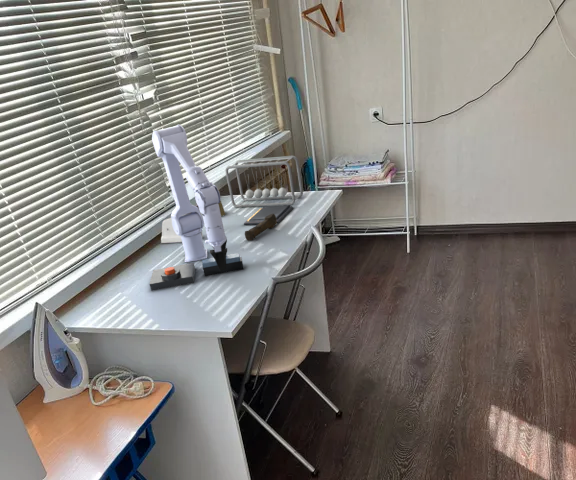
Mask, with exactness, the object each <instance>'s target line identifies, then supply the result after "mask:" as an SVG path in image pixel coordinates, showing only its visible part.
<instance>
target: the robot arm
mask: <svg viewBox="0 0 576 480" xmlns="http://www.w3.org/2000/svg"><path fill="white" fill-rule="evenodd" d="M151 141H152V145H153V148H154V151H155V154H156V156H157V157H158V158H161V160H162V163H163V165H164V169H165V172H166V175H167V179H168V183H169V186H170V189H171V193H172V196H173V199H174V203H175V208H174V209H173V210H172V212H171V213H170V218H172V226H173V229H174V231H175V233H176V234H177V235H179V236H181V240H182V242H181V243H182V247H183V250H184V255H185V257H184V263H192V262H197V261H202V260H204V259H208V252H209V254H210V256H212V258H214V259H215V261H216V263H217V265H218V268H219V270H220V271H221V270H226V255H227V253H228V248H227V243H228V239H227V236H226V232H225V228H224V224H223V223H224V222H223V218H222V216H221V213H220V209H219V204H218V203H220V200H221V192H220V193H219V191H220V190H219V189H218V187H217V185H215V184H214V183H213V182H212V181H211V182H210V181H209V178H208V177H207V175H206V174H205V172H204V169H202V167H201V166H198V165H196V163H195V160H194V159H193V156H192V154H191V152H190V150H189V148H188V136H187V132H186V129H185V128H184V127H183V126H182V125H181V124H177V125H174V126H170V127H165V128H162V129H158V130H153V131H152V135H151ZM181 166H182V168H183V169H184V171H185V179H186V180H187V182H188V184H189V186H190V188H191V189H192V192H193V193H194V199H195V203H196V205H194V204H192V203H191V201H190V197H189V194H188V193H189V192H188V191H187V187H186V183H185V180H184V176H183V173H182V169H181ZM218 190H219V191H218ZM221 201H222V200H221ZM203 228H205V233H206V236H207V239H205V240H204V239H203V237H202V235H201V231H202V232H203ZM204 244H205V245H209V246H211V248H213V249H210V250H209V251H208V249H207V248H205V245H204Z"/></svg>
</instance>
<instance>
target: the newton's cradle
mask: <svg viewBox="0 0 576 480" xmlns="http://www.w3.org/2000/svg"><path fill="white" fill-rule="evenodd" d="M292 159H293V160H295V165H296V173H297V179H298V186H299V195H295V187H294V181H293V174H292V169H291V165H290V163H289V161H290V160H292ZM281 160H283V161H281ZM284 160H285V161H284ZM257 162H258V163H257ZM283 165H285V166H286V167H287V174H288V178H289V179H288V180H289V185H290V191H291V195H287V194H288V191H287V189H286V188H285V187H283V186H282V183H283V180H282V177H280V175H279V171H278V170H276V172H277V176H278V180H279V181H278V182H279V185H280V188H279V189H278V188H277V187H274V186H275V181H274V180H273V179H272V178H271V176H269V178H270V182H271V185H272V188H271V189H269V188H267V183H266V181H262V182H263V187H264V189H263V190H262V189H260V188H258V187H259V184H258V182H257V181H256V179H255V178H253V180H254V183H255V188H256V189H255V190H254V191H253V190H252V189H250V187H249V183H248V182H250V179H249V177H250V176H249V175H247V176H244V179H247V177H248V179H247V180H248V181H247V180H245V181H246V184H247V189H246V191H245V195H244V192H243V186H242V181H241V175H240V171H239V169H242V170H243V171H245V169H246V168H247V169H249V168H250V169H251V173H252V175H253V177H258V175H257V172H255V175H256V176H255V175H254V173H253V171H254V170H253V168H257V167H258V168H259V172H260V175H261V176H263V175H264V177H266V174H265V171H263V173H264V174H263V175H262V171H261V167H270V166H271V167H272V166H275V168H276V169H278V167H277V166H279V167H280V172H282V167H281V166H283ZM244 168H245V169H244ZM229 169H230V170H231V169H235V172H236V173H235V174H236V178H237V183H238V188H239V193H240V197H241V199H242V202H240V203H239V204H236V203H235V198H234V193H233V189H232V183H231V179H230V175H229ZM267 170H268V171H270V170H269V168H267ZM273 170H274V169H271V172H272V173H271V172H268V174H269V175H271V174H272V175H274V173H273V172H274V171H273ZM224 171H225V176H226V181H227V185H228V191H229V196H230V201H231V204H232V206H233V207H234V208H239V209H240V208H255V207H256V208H258V207H266V206H282V205H290V206H292V205H294V204H295V203H296V201H297V199H301V198H302V197H303V195H304V190H303V183H302V175H301V169H300V161H299V158H298V157H297V156H295V155H286V156H285V155H284V156H283V155H282V156H273V157H272V156H271V157H260V158H249V159H247V158H246V159H238V160H236V161H235V162H234V163H233V164H232V165H228V166H226V168H225V170H224ZM245 173H246V172H243V174H244V175H246V174H245ZM270 173H271V174H270ZM261 178H262V180H264V178H263V177H261ZM291 199H292V201H289V202H288V201H286V202H269V203H267V202H265V203H246V204H243V203H245V202H253V201H254V202H255V201H270V200H291Z"/></svg>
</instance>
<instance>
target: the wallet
mask: <svg viewBox="0 0 576 480" xmlns="http://www.w3.org/2000/svg"><path fill="white" fill-rule="evenodd" d="M293 209H294V207H293V206H292V205H280V206H262V207H260V208H259V209H257V211H256V212H255V213H253V214H252V215H251V216H250V217H249V218H248V219H247V220H246V221H245V222H244V223H243V225H244V226H256V225H258V224H260V223H261V222H263V221H264V220H265V217H266V216H268V215H270V214H275V216H276V220H277V223H276V225H277V224H279V223H280V222H282V220H283V219H284V218H285V217H286V216H287V215H288V214H289V213H290V212H291V211H292V210H293Z"/></svg>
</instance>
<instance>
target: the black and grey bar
mask: <svg viewBox="0 0 576 480" xmlns="http://www.w3.org/2000/svg"><path fill="white" fill-rule="evenodd" d="M240 255H241V254H240V252H237V253H231V254H226V270H221V271H220V270H219V268H218V265H217V263H216V261H215V259H214V258H213V257H209V258H207V259H202V260H201V262H202V263H201V265H202V271H203V275H204V277H210V276H215V275H220V274H226V273H227V274H228V273H231V272H238V271H242V270H245V269H244V268H245V267H244V262H243V257H242V256H240Z"/></svg>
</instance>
